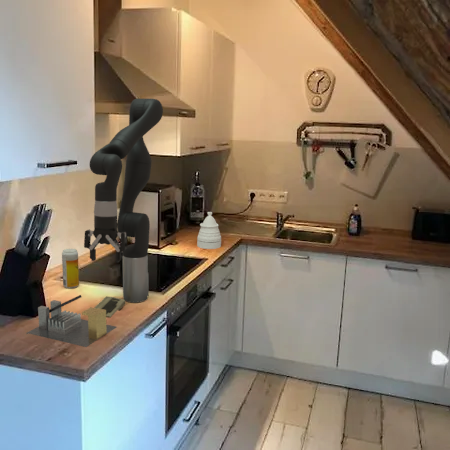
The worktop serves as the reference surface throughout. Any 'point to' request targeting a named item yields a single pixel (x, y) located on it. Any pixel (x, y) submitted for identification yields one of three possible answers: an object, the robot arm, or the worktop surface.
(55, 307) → the strap
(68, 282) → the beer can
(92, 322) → the gold block
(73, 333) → the heatsink base
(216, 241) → the honey pot
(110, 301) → the computer
